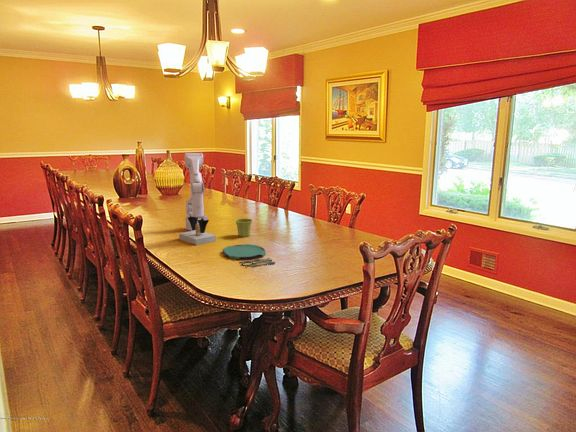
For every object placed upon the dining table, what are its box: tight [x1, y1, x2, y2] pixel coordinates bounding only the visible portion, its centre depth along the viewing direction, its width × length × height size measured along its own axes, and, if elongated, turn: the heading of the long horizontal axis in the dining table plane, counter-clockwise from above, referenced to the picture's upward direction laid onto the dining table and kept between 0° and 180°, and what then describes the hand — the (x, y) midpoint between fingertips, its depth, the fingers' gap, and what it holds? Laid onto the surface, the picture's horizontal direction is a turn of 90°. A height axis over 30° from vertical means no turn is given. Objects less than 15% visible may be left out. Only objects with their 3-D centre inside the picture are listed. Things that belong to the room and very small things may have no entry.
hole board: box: [178, 230, 217, 246], centre depth 223 cm, size 16×12×3 cm
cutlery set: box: [222, 243, 276, 268], centre depth 196 cm, size 20×30×2 cm, turn 24°
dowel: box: [195, 224, 202, 236], centre depth 222 cm, size 3×3×8 cm
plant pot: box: [234, 218, 254, 238], centre depth 233 cm, size 9×9×9 cm
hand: (198, 231), depth 221 cm, fingers open, 7 cm apart
